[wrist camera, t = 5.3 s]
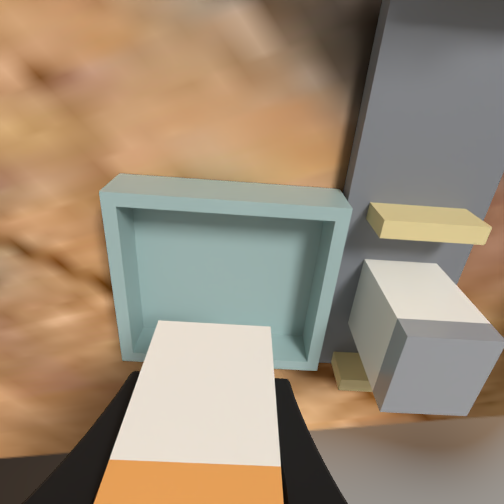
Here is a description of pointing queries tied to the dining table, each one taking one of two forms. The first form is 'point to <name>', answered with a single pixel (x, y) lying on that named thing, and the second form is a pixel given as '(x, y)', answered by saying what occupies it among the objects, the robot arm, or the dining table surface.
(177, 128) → the dining table surface
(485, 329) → the block
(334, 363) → the block
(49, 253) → the dining table surface
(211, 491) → the block
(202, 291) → the tray
